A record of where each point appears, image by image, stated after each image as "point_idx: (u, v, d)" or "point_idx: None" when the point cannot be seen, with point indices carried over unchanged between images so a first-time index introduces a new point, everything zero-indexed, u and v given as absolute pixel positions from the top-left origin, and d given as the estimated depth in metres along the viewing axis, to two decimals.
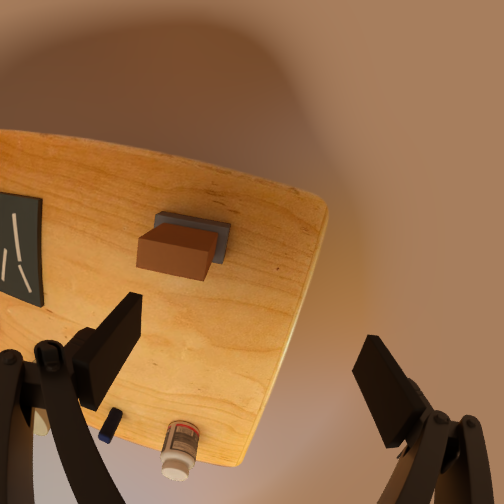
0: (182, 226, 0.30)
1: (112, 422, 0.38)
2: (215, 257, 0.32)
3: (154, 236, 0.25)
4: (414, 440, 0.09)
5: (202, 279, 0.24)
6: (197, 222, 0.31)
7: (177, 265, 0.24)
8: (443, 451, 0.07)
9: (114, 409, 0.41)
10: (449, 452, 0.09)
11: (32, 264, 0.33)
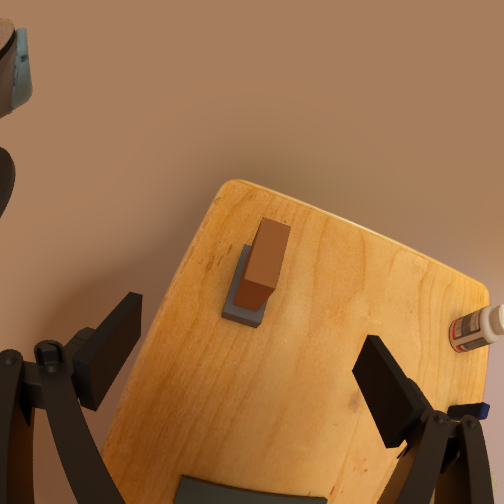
0: (238, 283, 0.30)
1: (464, 409, 0.27)
2: None
3: (244, 274, 0.25)
4: (414, 440, 0.09)
5: (288, 226, 0.26)
6: (236, 271, 0.31)
7: (275, 246, 0.25)
8: (443, 451, 0.07)
9: (448, 414, 0.30)
10: (449, 452, 0.09)
11: (268, 503, 0.22)
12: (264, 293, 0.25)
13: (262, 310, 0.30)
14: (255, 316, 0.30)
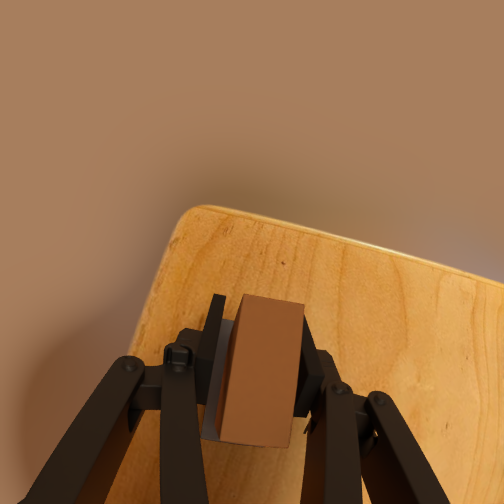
0: (219, 391, 0.16)
1: None
2: None
3: (221, 414, 0.11)
4: (317, 414, 0.11)
5: (300, 306, 0.12)
6: (213, 368, 0.17)
7: (277, 356, 0.11)
8: (355, 424, 0.09)
9: None
10: (356, 429, 0.10)
11: None
12: None
13: None
14: None
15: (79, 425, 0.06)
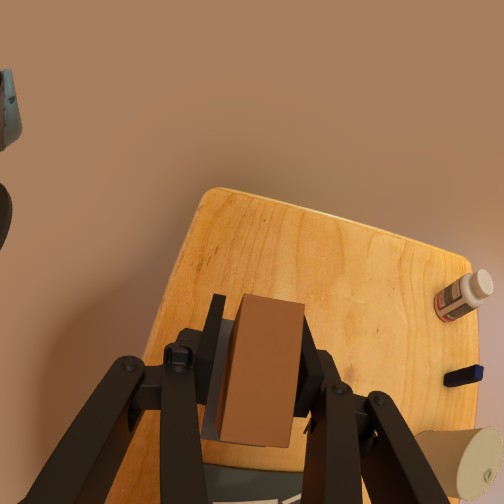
0: (219, 391, 0.16)
1: (458, 374, 0.31)
2: None
3: (221, 414, 0.11)
4: (317, 414, 0.11)
5: (301, 305, 0.12)
6: (213, 368, 0.17)
7: (277, 356, 0.11)
8: (355, 424, 0.09)
9: (445, 381, 0.33)
10: None
11: (280, 481, 0.25)
12: None
13: None
14: None
15: (79, 425, 0.06)
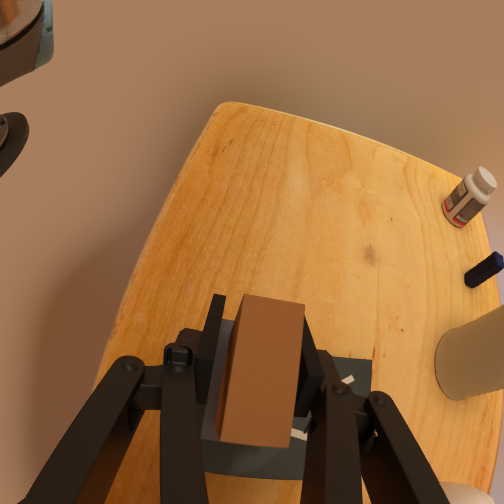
0: (219, 392, 0.16)
1: (479, 266, 0.31)
2: None
3: (221, 415, 0.11)
4: (317, 414, 0.11)
5: (301, 306, 0.12)
6: (213, 368, 0.17)
7: (277, 357, 0.11)
8: (355, 424, 0.09)
9: (466, 280, 0.33)
10: None
11: None
12: None
13: None
14: None
15: (79, 425, 0.06)
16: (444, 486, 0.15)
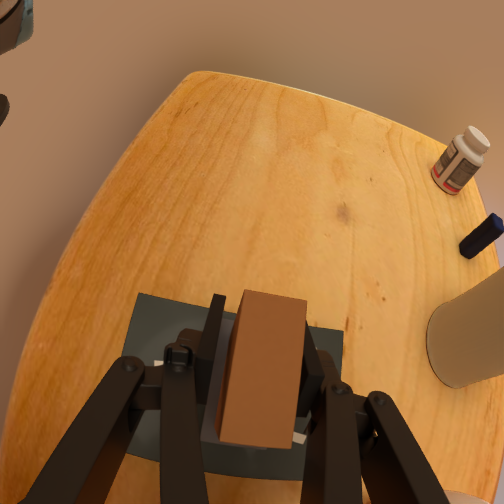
0: (219, 392, 0.16)
1: (475, 232, 0.27)
2: None
3: (221, 415, 0.10)
4: (317, 414, 0.11)
5: (303, 302, 0.12)
6: (213, 369, 0.17)
7: (279, 354, 0.11)
8: (355, 424, 0.09)
9: (461, 249, 0.29)
10: (356, 429, 0.10)
11: None
12: None
13: None
14: None
15: (79, 425, 0.06)
16: None
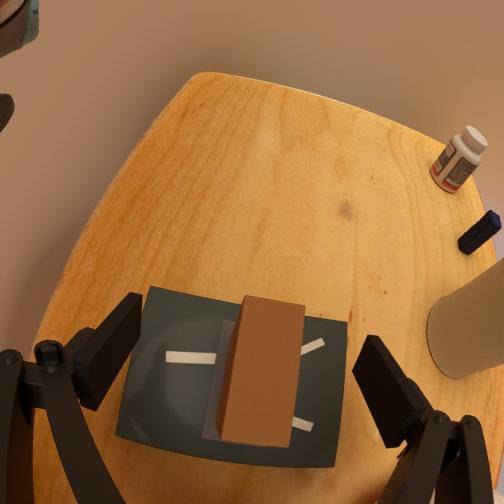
0: (220, 392, 0.16)
1: (473, 228, 0.28)
2: None
3: (222, 414, 0.11)
4: (414, 440, 0.09)
5: (301, 307, 0.12)
6: (214, 368, 0.18)
7: (278, 357, 0.11)
8: (443, 451, 0.07)
9: (460, 245, 0.30)
10: (449, 452, 0.09)
11: None
12: None
13: None
14: None
15: None
16: None
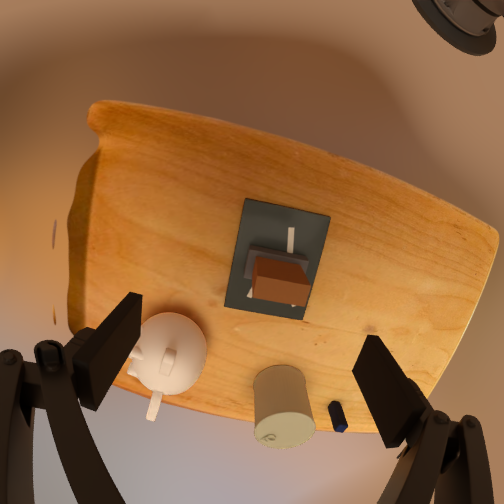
0: (272, 259, 0.39)
1: (341, 413, 0.47)
2: None
3: (265, 272, 0.33)
4: (414, 440, 0.09)
5: (304, 305, 0.32)
6: (284, 256, 0.39)
7: (286, 296, 0.32)
8: (443, 451, 0.07)
9: (335, 402, 0.50)
10: (449, 452, 0.09)
11: (307, 278, 0.42)
12: (253, 287, 0.34)
13: None
14: (248, 273, 0.39)
15: None
16: (205, 360, 0.40)
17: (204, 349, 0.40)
